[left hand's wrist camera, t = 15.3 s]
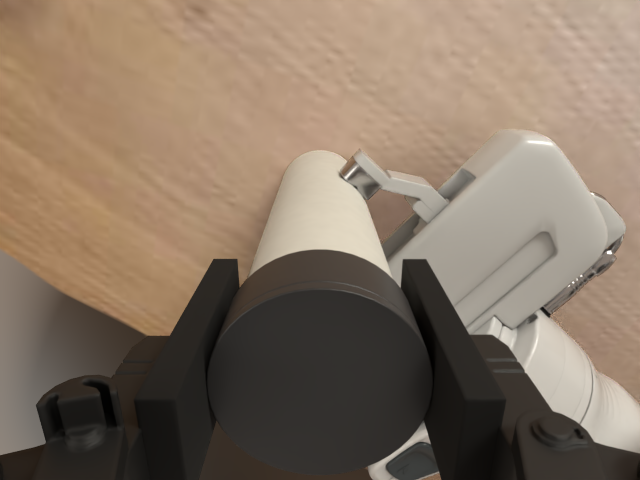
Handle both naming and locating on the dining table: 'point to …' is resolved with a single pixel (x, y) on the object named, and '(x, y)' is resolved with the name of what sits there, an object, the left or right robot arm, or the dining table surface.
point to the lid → (319, 365)
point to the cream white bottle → (319, 214)
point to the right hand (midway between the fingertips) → (306, 207)
